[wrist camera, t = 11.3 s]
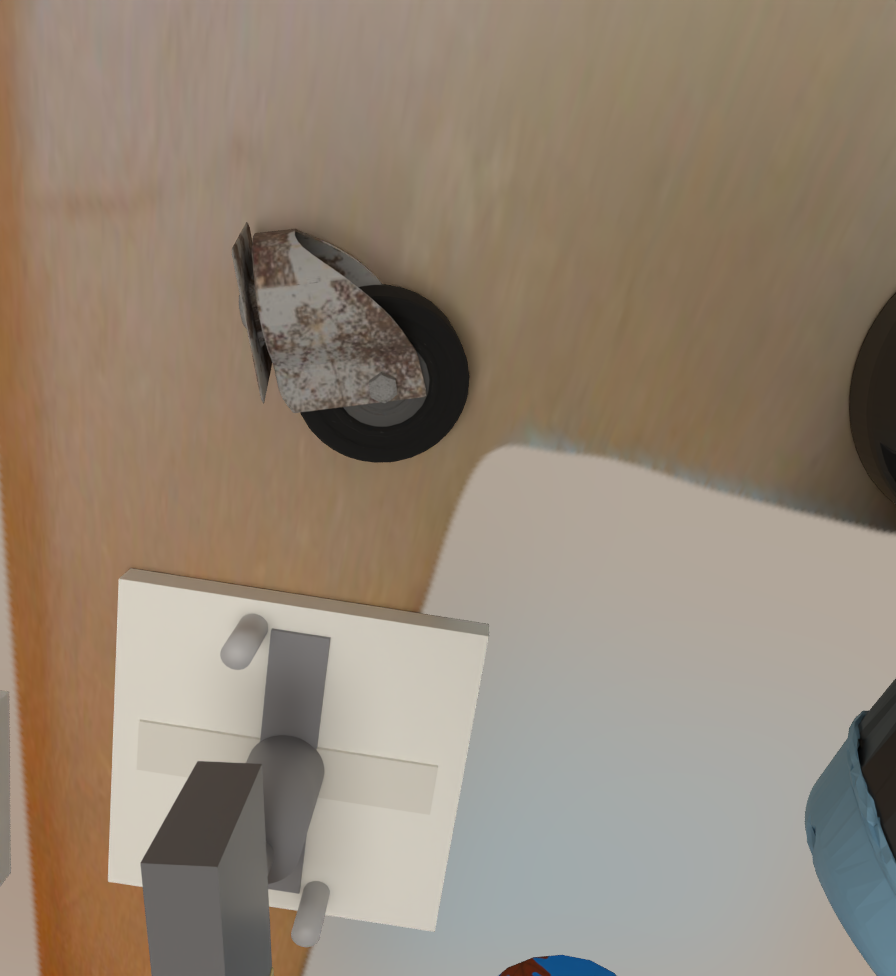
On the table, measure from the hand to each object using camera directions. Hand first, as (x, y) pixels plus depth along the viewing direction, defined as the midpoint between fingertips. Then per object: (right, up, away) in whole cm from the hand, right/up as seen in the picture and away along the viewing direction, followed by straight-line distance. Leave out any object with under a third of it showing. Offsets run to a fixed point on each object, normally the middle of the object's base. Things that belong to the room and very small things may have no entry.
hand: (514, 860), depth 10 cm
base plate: (-10, -11, +37) cm, 39 cm away
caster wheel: (-5, +12, +30) cm, 33 cm away
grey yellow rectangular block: (-10, -13, +28) cm, 33 cm away
